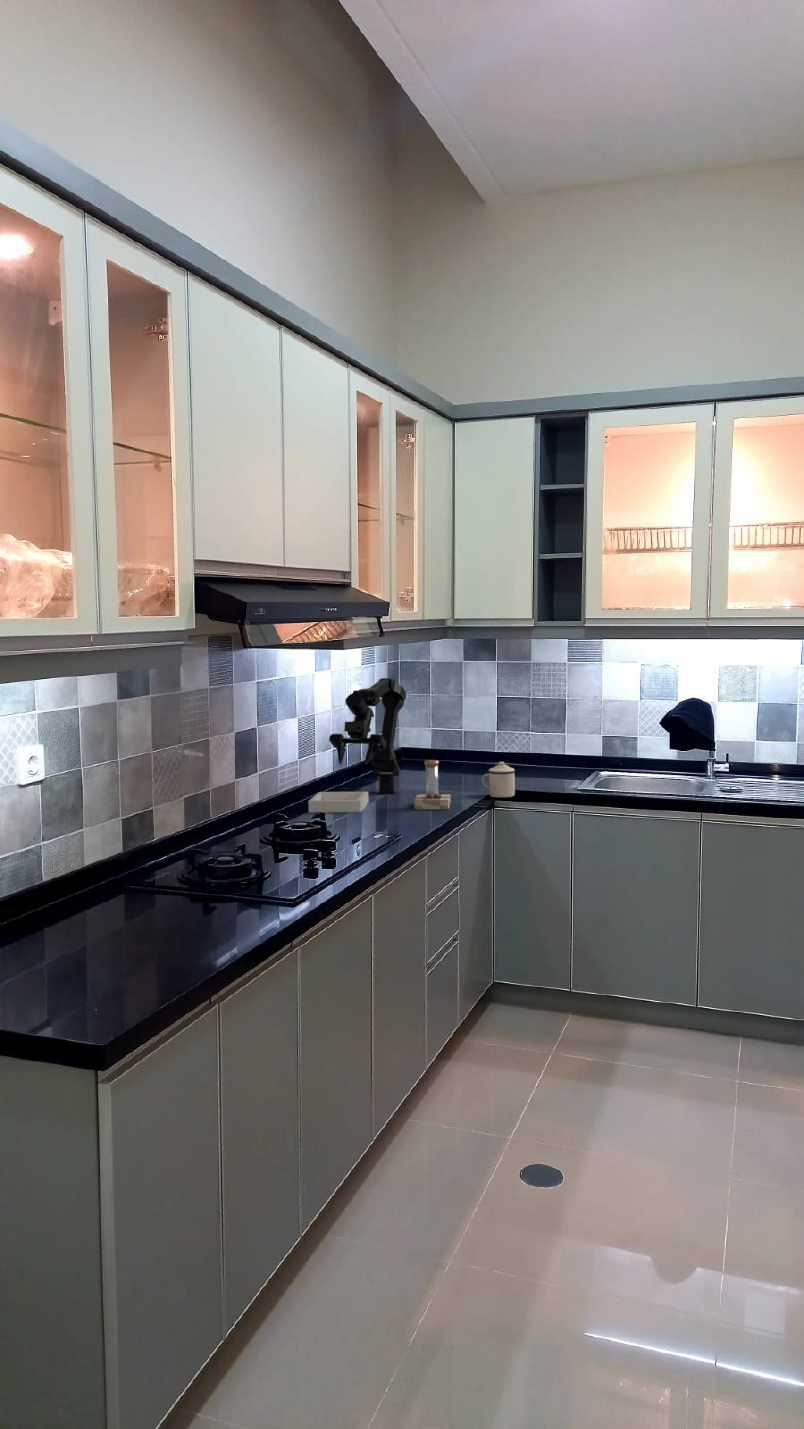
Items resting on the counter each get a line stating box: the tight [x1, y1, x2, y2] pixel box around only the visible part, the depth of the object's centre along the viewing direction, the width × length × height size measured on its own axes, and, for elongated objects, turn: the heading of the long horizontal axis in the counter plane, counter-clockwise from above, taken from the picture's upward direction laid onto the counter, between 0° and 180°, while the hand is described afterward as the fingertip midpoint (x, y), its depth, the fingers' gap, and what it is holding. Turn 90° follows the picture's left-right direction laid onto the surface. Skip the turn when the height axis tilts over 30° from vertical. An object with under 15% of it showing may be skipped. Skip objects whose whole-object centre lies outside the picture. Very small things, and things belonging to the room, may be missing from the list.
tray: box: [308, 791, 369, 813], centre depth 336 cm, size 17×17×4 cm
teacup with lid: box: [481, 761, 516, 799], centre depth 350 cm, size 12×9×12 cm
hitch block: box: [413, 793, 451, 811], centre depth 334 cm, size 11×11×3 cm
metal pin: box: [423, 759, 440, 799], centre depth 333 cm, size 5×5×15 cm
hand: (352, 763), depth 334 cm, fingers open, 9 cm apart
